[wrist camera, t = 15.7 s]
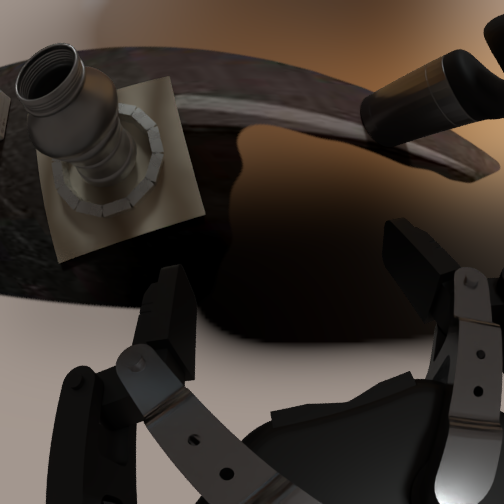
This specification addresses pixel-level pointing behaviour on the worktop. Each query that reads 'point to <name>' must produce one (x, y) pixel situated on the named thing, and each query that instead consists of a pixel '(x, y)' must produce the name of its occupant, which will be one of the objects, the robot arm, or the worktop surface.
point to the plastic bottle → (75, 115)
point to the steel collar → (141, 190)
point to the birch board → (128, 182)
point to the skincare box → (3, 112)
